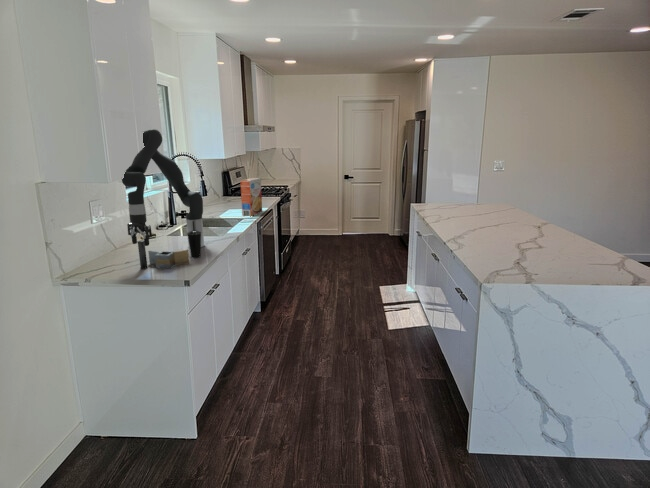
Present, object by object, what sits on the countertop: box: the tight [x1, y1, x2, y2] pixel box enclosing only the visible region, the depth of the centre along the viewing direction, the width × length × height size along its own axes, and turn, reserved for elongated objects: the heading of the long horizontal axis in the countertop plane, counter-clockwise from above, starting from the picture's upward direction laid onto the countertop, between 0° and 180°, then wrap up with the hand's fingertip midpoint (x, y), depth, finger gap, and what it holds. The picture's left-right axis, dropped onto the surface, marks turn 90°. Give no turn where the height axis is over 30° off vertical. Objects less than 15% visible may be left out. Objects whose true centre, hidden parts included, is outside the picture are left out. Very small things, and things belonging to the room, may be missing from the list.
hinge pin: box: [137, 240, 148, 270], centre depth 215 cm, size 3×3×14 cm
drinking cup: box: [186, 221, 202, 259], centre depth 234 cm, size 8×8×20 cm
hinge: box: [147, 249, 190, 270], centre depth 220 cm, size 11×20×7 cm, turn 84°
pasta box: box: [240, 177, 263, 218], centre depth 361 cm, size 23×8×30 cm, turn 165°
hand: (140, 244), depth 213 cm, fingers open, 8 cm apart
